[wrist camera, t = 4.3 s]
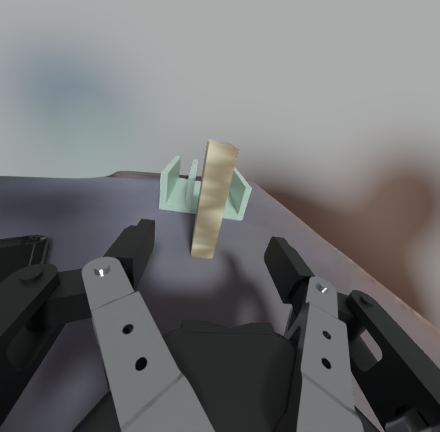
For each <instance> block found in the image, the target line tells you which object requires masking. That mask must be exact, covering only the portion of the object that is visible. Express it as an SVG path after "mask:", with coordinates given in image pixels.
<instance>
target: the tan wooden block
mask: <svg viewBox="0 0 440 432" xmlns="http://www.w3.org/2000/svg"><path fill="white" fill-rule="evenodd" d="M237 154H238V148H236V147H235V146H233V145H231V144H229V143H224V142H219V141H215V140H210V139H208V141H207V147H206V154H205V160H204V166H203V173H202V179H201V185H200V191H199V198H198V204H197V210H196V217H195V223H194V229H193V238H192V248H191V257H198V258H208V259H213V255H214V251H215V246H216V242H217V238H218V234H219V230H220V225H221V221H222V217H223V213H224V209H225V205H226V200H227V196H228V192H229V188H230V184H231V179H232V175H233V171H234V166H235V163H236V158H237Z"/></svg>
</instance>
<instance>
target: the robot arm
mask: <svg viewBox="0 0 440 432" xmlns="http://www.w3.org/2000/svg"><path fill="white" fill-rule="evenodd" d="M154 237H155V220H149V219H141V220H140V222H139V223H138V225H137V226H133V225H131V226H129V227H128V228H126V229H124V230H123V232H122V233H121V234H120V236H119V237H118V238H117V239H116V241H115V242H114V243H113V244H112V246H111V247H110V248H109V250H108V251H107V252H106V253H105V255H104V256H103V257H101V258H97V259H95V260H92V261H91V262H89V263H88V264H86V265H85V266H84V268H83V269H79V270H72V271H64V272H58V271H57V268H56V267H55V266H54V265H51V264H35V265H31V266H27V267H24V268H22V269H20V270H18V271H16V272H14V273H12V274H11V275H10V276H8V277H7V278H6V279H5V280H3V281H2V282H1V283H0V427H1V425H2V424H3V422H4V420H5V419H6V417H7V416H8V414H9V412H10V411H11V409H12V408H13V406H14V405H15V403H16V401H17V400H18V398H19V397H20V395H21V394H22V392H23V390H24V389H25V387H26V386H27V384H28V382H29V381H30V379H31V378H32V376H33V375H34V373H35V371H36V370H37V368H38V367H39V365H40V364H41V362H42V360H43V359H44V357H45V356H46V354H47V353H48V351H49V349H50V348H51V346H52V345H53V343H54V341H55V340H56V338H57V337H58V335H59V334H60V332H61V330H62V329H63V327H64V326H65V324H66V323H69V322H73V321H77V320H81V319H85V318H90V317H91V318H92V323H93V327H94V331H95V335H96V339H97V343H98V347H99V351H100V356H101V360H102V364H103V369H104V373H105V377H106V381H107V385H108V389H109V391H108V393H107V394H106V395H105V396H104V397H103V398H102V399H101V400H100V401H99V402H98V403H97V404H96V406H95V407H94V408H93V409H92V410H91V411H90V412H89V413H88V414H87V415H86V416H85V418H84V419H83V420H82V421H81V422H80V423H79V424H78V425H77V426H76V427H75V428H74V430H73V431H72V432H380V431H379V430H378V429H377V428H376V427H375V426H374V425H373V424H372V423H371V422H370V421H369V420H368V419H367V418H366V417H365V416H364V415H363V413H362V412H361V411H360V410H359V409H358V408H357V407H356V406H355V405H354V401H353V390H352V379H351V372H352V374H353V376H354V377H355V379H356V381H357V383H358V385H359V386H360V388H361V390H362V392H363V393H364V395H365V397H366V399H367V401H368V402H369V404H370V406H371V408H372V410H373V411H374V413H375V415H376V417H377V418H378V420H379V422H380V424H381V426H382V427H383V429H384V431H385V432H440V369H439V368H438V367H437V366H436V365H435V364H434V362H433V361H432V360H431V359H430V358H429V357H428V356H427V355H426V354H425V353H424V352H423V351H422V350H421V349H420V348H419V346H418V345H417V344H416V343H415V342H414V341H413V340H412V339H411V338H410V337H409V336H408V335H407V334H406V333H405V331H404V330H403V329H402V328H401V327H400V326H399V325H398V324H397V323H396V322H395V321H394V320H393V319H392V318H391V316H390V315H389V314H388V313H387V312H386V311H385V310H384V309H383V308H382V307H381V306H380V305H379V304H378V303H377V302H376V301H375V300H374V299H373V298H372V297H370V296H369V295H367V294H365V293H363V292H361V291H358V290H353V291H352V292H351V293H350V294H349V295H348V296H347V295H344V294H341V293H338V292H336V290H335V288H334V287H333V286H332V285H331V284H330V283H329V282H327V281H326V280H324V279H322V278H320V277H315V275H314V274H313V273H312V271H311V270H310V269H309V267H308V266H307V265H306V263H305V262H304V261H303V259H302V258H301V257H300V255H299V254H298V252H297V251H296V250H295V249H294V248H292V247H291V246H290V245H289V244H288V243H287V241H286V240H285V239H284V238H281V237H272V238H271V240H270V242H269V245H268V247H267V249H266V252H265V255H264V261H265V264H266V266H267V268H268V270H269V273H270V275H271V277H272V279H273V282H274V284H275V286H276V288H277V291H278V293H279V295H280V297H281V300H282V302H283V303H284V304H292V308H291V310H290V313H289V317H288V321H287V325H286V329H285V332H284V336H282V335H280V334H278V333H275V332H274V331H273V328H272V325H271V324H266V323H249V324H245V325H241V326H237V327H234V328H226V327H223V326H220V325H217V324H213V323H210V322H207V321H191V320H182V325H181V328H179V329H175V330H173V331H170V332H168V333H167V334H165V335H163V336H161V334H160V332H159V330H158V328H157V326H156V324H155V322H154V320H153V318H152V316H151V314H150V312H149V310H148V308H147V306H146V304H145V302H144V300H143V298H142V296H141V294H140V293H139V291H135V290H136V288H137V285H138V283H139V280H140V278H141V276H142V273H143V271H144V269H145V266H146V264H147V261H148V259H149V257H150V254H151V252H152V250H153V246H154ZM366 329H367V331H368V332H369V333H370V335H371V336H372V337H373V339H374V340H375V341H376V343H377V344H378V345H379V347H380V349H381V351H382V359H381V360H380V361H379V362H378V361H377V360H376V358H375V357H374V356H373V354H372V353H371V351H370V350H369V348H368V347H367V346H366V344H365V343H364V341H363V340H362V338H361V337H360V335H361V334H362V333H363V332H364V331H365V330H366Z"/></svg>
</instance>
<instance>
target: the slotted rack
mask: <svg viewBox="0 0 440 432" xmlns="http://www.w3.org/2000/svg"><path fill="white" fill-rule="evenodd" d="M180 161H181V157H179V156H176V157H175V158H174V159H173V160H172V161H171V162H170V163H169V164H168V165H167V167H165V168H164V170H163V171H162V172H161V181H160V202H159V209H162V210H169V211H176V212H183V213H191V214H196V210H197V204H198V198H199V191H200V185H201V182H200V181H195V179H196V172H197V165H198V160H195V159H194V161H193V164H192V168H191V171H190V174H189V178H188V179H182V178H179V170H180ZM251 189H252V188H251V187H250V186H249V184H248V183H247V182H246V180H245V179H244V178H243V177H242V175H241V174H240V173H239V172H238V170H237V169H236V168H235V167H234V171H233V175H232V179H231V184H230V188H229V192H228V196H227V200H226V205H225V209H224V213H223V217H222V218H226V219H233V220H240V221H242V219H243V216H244V213H245V209H246V206H247V203H248V199H249V196H250V193H251Z"/></svg>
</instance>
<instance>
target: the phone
mask: <svg viewBox="0 0 440 432" xmlns="http://www.w3.org/2000/svg"><path fill="white" fill-rule="evenodd" d="M48 247H49V245H48V241H47V238H46V237H45V236H41V235H31V236H23V237H15V238H6V239H0V283H1V282H2V281H3V280H5V279H6V278H7V277H8V276H10V275H11V274H12V273H14V272H16V271H18V270H20V269H22V268H24V267H27V266H31V265H35V264H45V260H46V256H47V252H48Z"/></svg>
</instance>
